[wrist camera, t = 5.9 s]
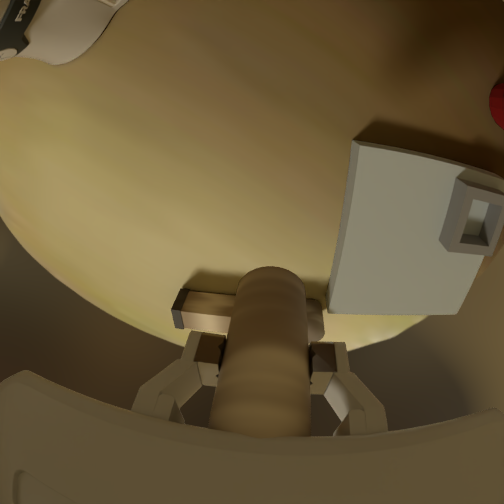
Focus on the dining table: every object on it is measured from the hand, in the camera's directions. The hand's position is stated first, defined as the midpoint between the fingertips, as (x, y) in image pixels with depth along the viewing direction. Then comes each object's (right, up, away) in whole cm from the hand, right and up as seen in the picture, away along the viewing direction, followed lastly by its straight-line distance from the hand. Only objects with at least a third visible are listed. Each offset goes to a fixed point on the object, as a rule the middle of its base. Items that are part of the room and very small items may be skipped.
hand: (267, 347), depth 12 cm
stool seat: (+19, +6, +18) cm, 27 cm away
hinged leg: (-1, -3, +26) cm, 26 cm away
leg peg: (0, +2, +3) cm, 4 cm away
